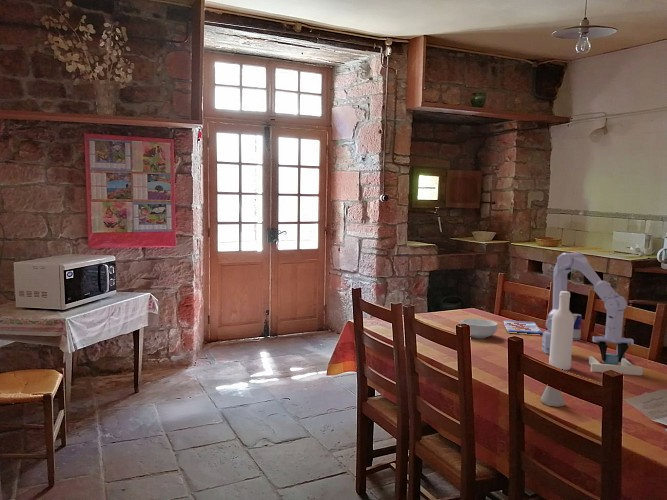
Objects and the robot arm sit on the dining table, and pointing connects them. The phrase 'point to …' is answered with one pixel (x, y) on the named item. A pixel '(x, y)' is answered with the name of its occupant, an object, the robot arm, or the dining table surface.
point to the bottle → (562, 334)
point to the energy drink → (577, 326)
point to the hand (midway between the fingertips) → (611, 361)
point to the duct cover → (617, 352)
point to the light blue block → (611, 359)
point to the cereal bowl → (480, 327)
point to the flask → (552, 397)
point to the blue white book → (529, 325)
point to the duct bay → (615, 367)
